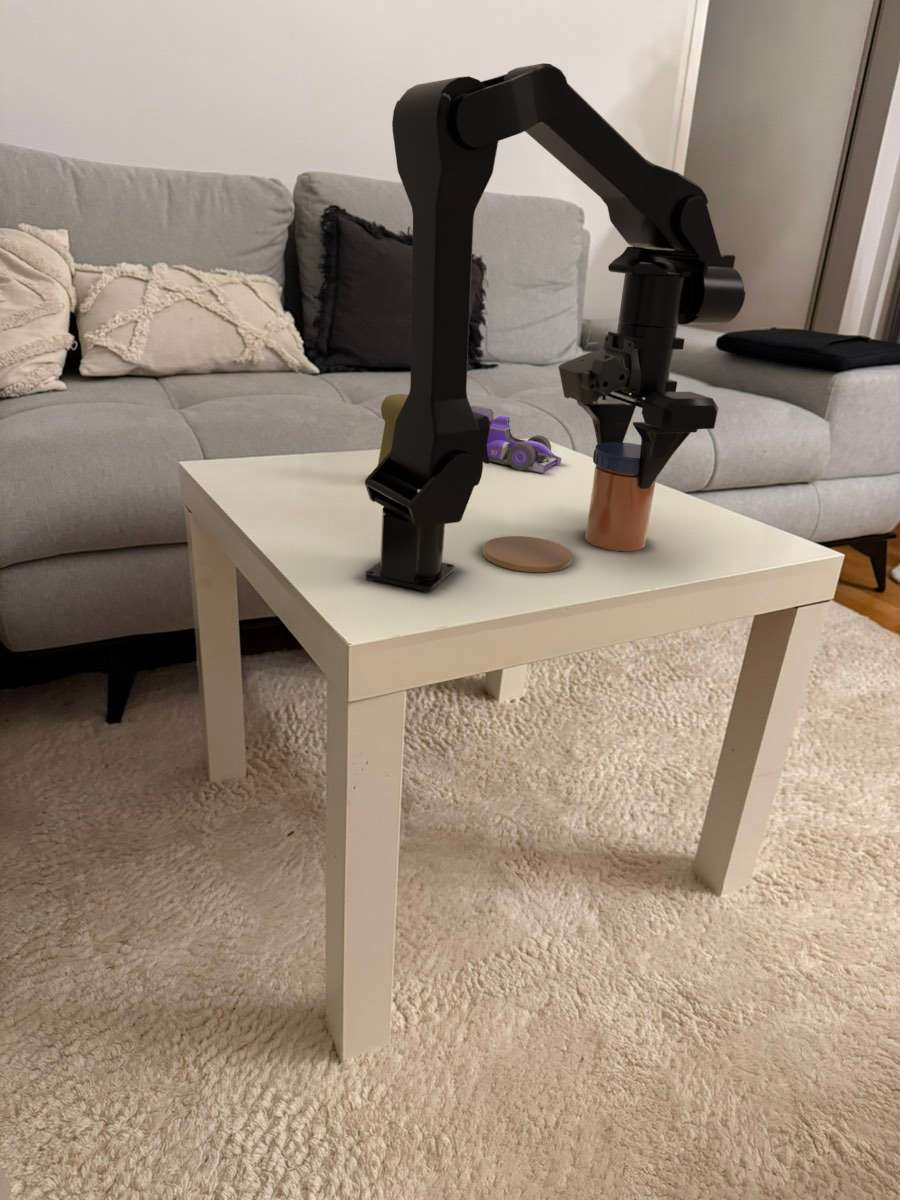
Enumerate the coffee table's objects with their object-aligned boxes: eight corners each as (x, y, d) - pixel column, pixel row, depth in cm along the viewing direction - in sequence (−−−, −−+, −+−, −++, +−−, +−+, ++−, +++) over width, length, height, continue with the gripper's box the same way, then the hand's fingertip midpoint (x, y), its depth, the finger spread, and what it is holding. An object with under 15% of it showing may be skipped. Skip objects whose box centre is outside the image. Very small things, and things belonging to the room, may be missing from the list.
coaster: (558, 579, 81) (559, 573, 80) (469, 561, 83) (470, 555, 83) (580, 551, 88) (581, 546, 88) (498, 535, 91) (499, 530, 91)
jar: (639, 555, 89) (654, 467, 85) (579, 544, 91) (591, 457, 87) (648, 538, 94) (663, 454, 90) (592, 528, 96) (604, 446, 92)
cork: (416, 492, 104) (421, 401, 100) (369, 486, 105) (372, 396, 101) (427, 480, 110) (432, 394, 105) (382, 474, 111) (385, 388, 106)
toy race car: (540, 476, 116) (546, 428, 113) (442, 457, 122) (446, 412, 119) (564, 463, 124) (569, 418, 121) (471, 446, 130) (474, 403, 127)
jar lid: (665, 464, 91) (668, 448, 90) (654, 478, 85) (657, 462, 84) (601, 453, 93) (603, 438, 93) (585, 467, 87) (587, 451, 86)
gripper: (530, 312, 88) (516, 459, 94) (632, 335, 73) (607, 510, 79) (621, 314, 92) (601, 455, 99) (735, 337, 77) (704, 503, 83)
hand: (624, 478), depth 90 cm, fingers closed on jar lid, 7 cm apart
